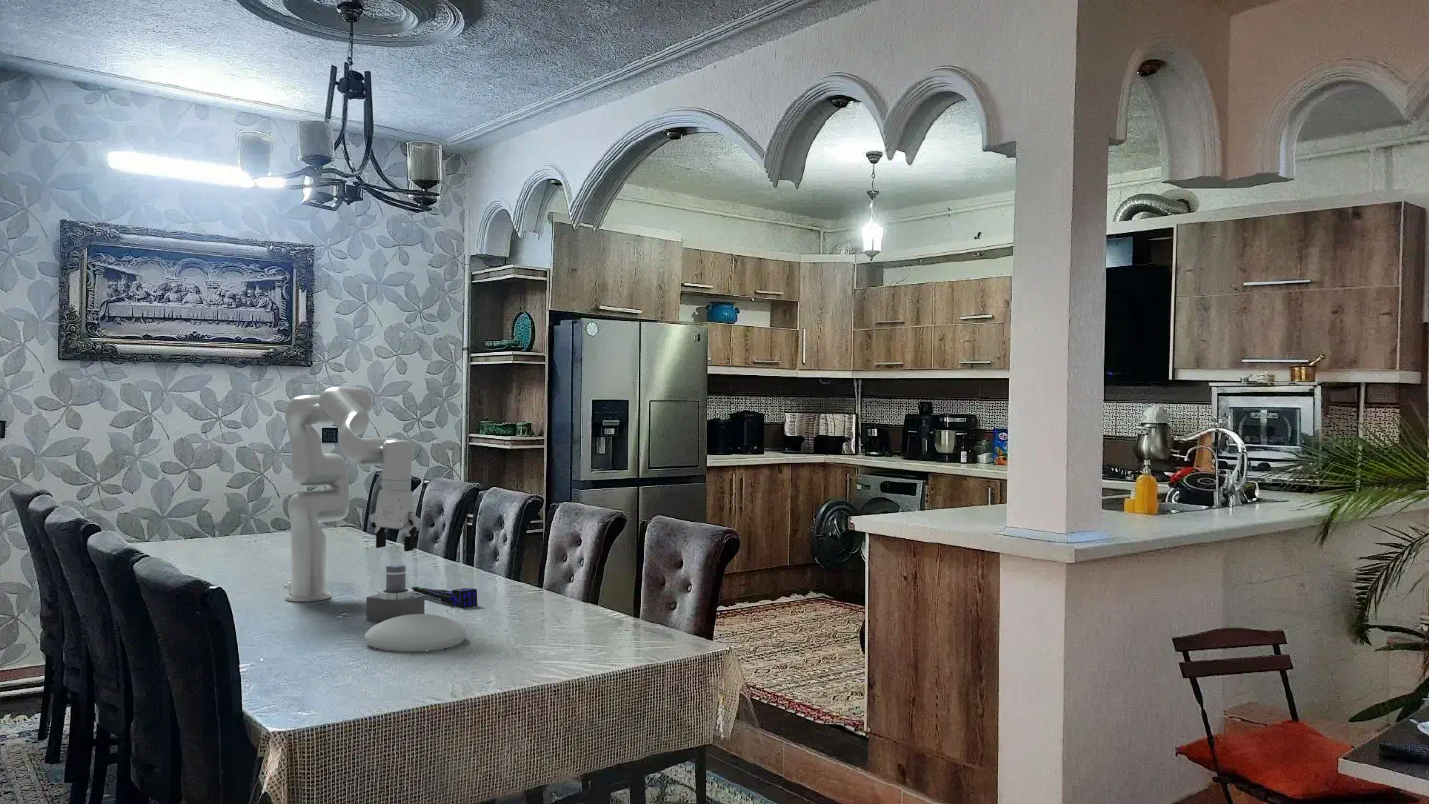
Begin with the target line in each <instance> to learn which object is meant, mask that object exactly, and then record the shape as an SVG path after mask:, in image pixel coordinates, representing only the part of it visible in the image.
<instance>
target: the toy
mask: <svg viewBox="0 0 1429 804" xmlns="http://www.w3.org/2000/svg"><path fill="white" fill-rule="evenodd" d="M411 589H413V593H414V592H415V593H419V594H420V595H425V596H428V597H430V598H433V599H438V600H440V602H446V603H451V604H452V607H455V606H456V607H455V608H458V607H459V609H462V608H463V609H468V608H467V607H469V608H474V607H473V606H476V607H478V588H473V587H472V588H471V587H464V588H457V589H451V590H446V589H431V588H428V587H427V588H426V587H421V586H411Z"/></svg>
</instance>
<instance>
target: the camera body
mask: <svg viewBox="0 0 1429 804" xmlns="http://www.w3.org/2000/svg"><path fill="white" fill-rule="evenodd" d="M425 596H426V595H424V594H416V593H414V591H413V589H412V587H406V592H401V593H386V588H382V589H380V590H378V591H377V594H374V595H370V596H367V597H366V606H365V607H366V610H365V611H366V612H365V614H366V615H365V617H366V618H365V619H366V620H368V621H375V622H380V623H381V622H383V621H385V620H388V619H391V618H394V617H398V616H403V615H410V614H425V607H426V606H425V604H426V603H425V599H426V598H425Z"/></svg>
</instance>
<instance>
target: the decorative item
mask: <svg viewBox="0 0 1429 804" xmlns="http://www.w3.org/2000/svg"><path fill="white" fill-rule="evenodd" d="M466 635H467V629H466V628H465V626H463V625H462V624H461V623H460V622H458V621H457V620H454V619H452V618H448V617H446V616H443V615H437V614H429V613H424V614H410V615H403V616H398V617H394V618H391V619H388V620H385V621H383V622H381V621H380V622H378V623H377V624H375V625H373V626H371V628H369V629H368V630H367V631H366V632H365V634H364V639H365V642H366V643H367V645H368V646H369V647H370V646H371V647H370V648H372V647H374V648H373V649H376V648H379V649H378V650H382V649H388V650H387V651H390V650H396V651H395V652H401V651H425V652H427V651H426V650H436V651H438V650H437V649H443V650H445V649H444V648H447V649H450V648H449V647H451V648H453V647H452V646H454V647H456V646H455V645H457V646H458V645H461V644H462V643H463V642H464V641H465V639H466ZM460 643H461V644H460Z"/></svg>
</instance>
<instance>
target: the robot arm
mask: <svg viewBox="0 0 1429 804" xmlns="http://www.w3.org/2000/svg"><path fill="white" fill-rule="evenodd" d="M372 405H373V401H372V398H371V395H370V394H369V392H368V391H367V390H365V389H364V388H362V387H350V386H349V387H343V386H342V387H341V386H340V387H339V386H338V387H337V386H335V387H330V388H327V389H325V390H324V391H322V392H321V394H318V395H317V394H316V395H315V394H314V395H312V394H310V395H309V394H308V395H307V394H306V395H299V396H295V397H293V398H291V400H289V401H288V403H287V405H286V408H285V413H284V420H285V421H284V423H285V426H286V429H287V433H288V436H289V441H290V455H291V456H290V458H291V475H292V480H293V483H294V484H295V485H297V486H298V487H317V486H318V487H319V486H320V487H321V486H325V487H326V489H322V490H320V489H317V490H304V491H301V492H297V493H295V494H293V495H292V496H291V497H290V499H289V500H288V502H287V503H288V504H287V512H288V517H289V523H290V531H291V533H290V535H291V536H290V539H291V543H290V545H291V554H290V558H291V560H290V561H291V566H290V569H291V571H290V581H288V582H287V583H286V584H284V585H283V589H284V590H288V593H287V594H285V596H284V597H285V598H284V599H285V601H289V602H295V603H296V602H297V603H300V602H302V603H303V602H304V603H305V602H317V601H322V600H327V599H329V598H331V597H332V592H331V591H328V590H326V589H327V588H326V586H327V585H326V584H327V583H326V582H327V580H326V572H327V569H326V567H327V565H326V564H327V563H326V562H327V537H326V534H325V532H324V530H323V529H322V528H321V526H320V525H319V524H321V523H327V522H337V521H341V520H343V519H345V518H346V517H347V516H348V513H349V512H350V511H349V510H350V488H349V487H350V485H349V484H350V483H349V482H350V481H349V469H348V465H347V462H346V460H345V459H344V457H343V456H342V455H340V454H338V453H323V450H322V439H321V438H322V437H321V436H320V434H319V433H318V431H317V430H316V428H315V427H314V426H313V425H335V426H336V427H337V429H338V432H337V433H338V434H337V443H338V446H339V449H340V451H341V453H342V454H343V455H344V456H345V457H346V459H348V460H349V462H351V463H352V464H354V465H356V466H362V467H363V466H366V467H367V466H381V467H382V469H381V480H380V481H379V484H380V486H381V489H380V490H379V492H378V494H377V499H376V505H375V512H374V513H372V514H370V515H369V516H368V517H369V518H368V519H369V520H370V523H371V527H372V528H373V532H374V533H375V548H377V549H380V548H385V547H386V546H387V532H386V531H385V530H386V529H392V530H403V532H404V534H405V536H404V538H403V551H404V552H410V551H414V549H415V536H416V535H417V533H418V532H419V531H420V529H421V527H422V524H423V519H421V518H419V517H418V516H417V515H416V514H415V503H414V502H415V501H414V494H413V490H412V489H411V488H412V460H413V459H412V456H413V455H412V452H413V445H412V443H411V441H410V440H405V439H397V438H394V437H360V436H359V435H361V434H363V433H364V432H365V430H366V429H367V428H368V426H369V425H370V424H369V423H370V417H369V413H370V411H371V409H372Z"/></svg>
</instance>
